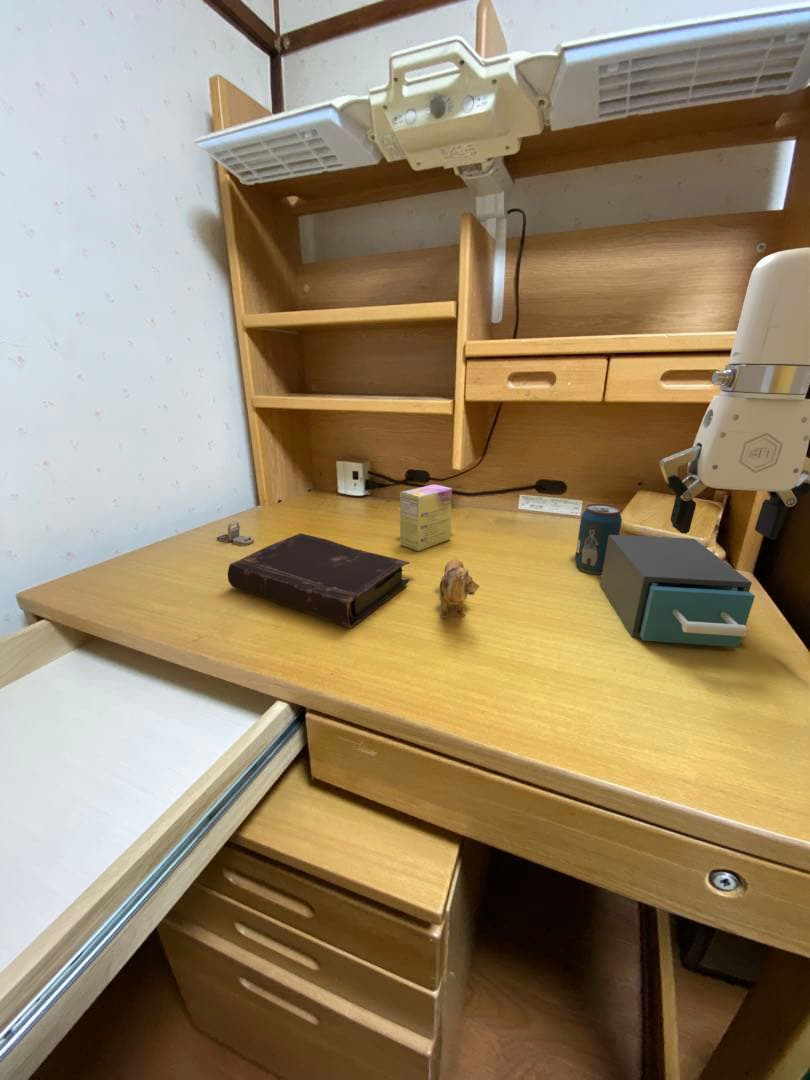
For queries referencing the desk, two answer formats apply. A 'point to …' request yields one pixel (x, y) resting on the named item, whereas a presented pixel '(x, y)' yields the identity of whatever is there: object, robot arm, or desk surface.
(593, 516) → the soda can
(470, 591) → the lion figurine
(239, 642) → the desk surface
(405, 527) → the box
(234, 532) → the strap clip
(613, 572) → the drawer cabinet casing
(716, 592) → the teal drawer
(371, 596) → the diary
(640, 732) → the desk surface
